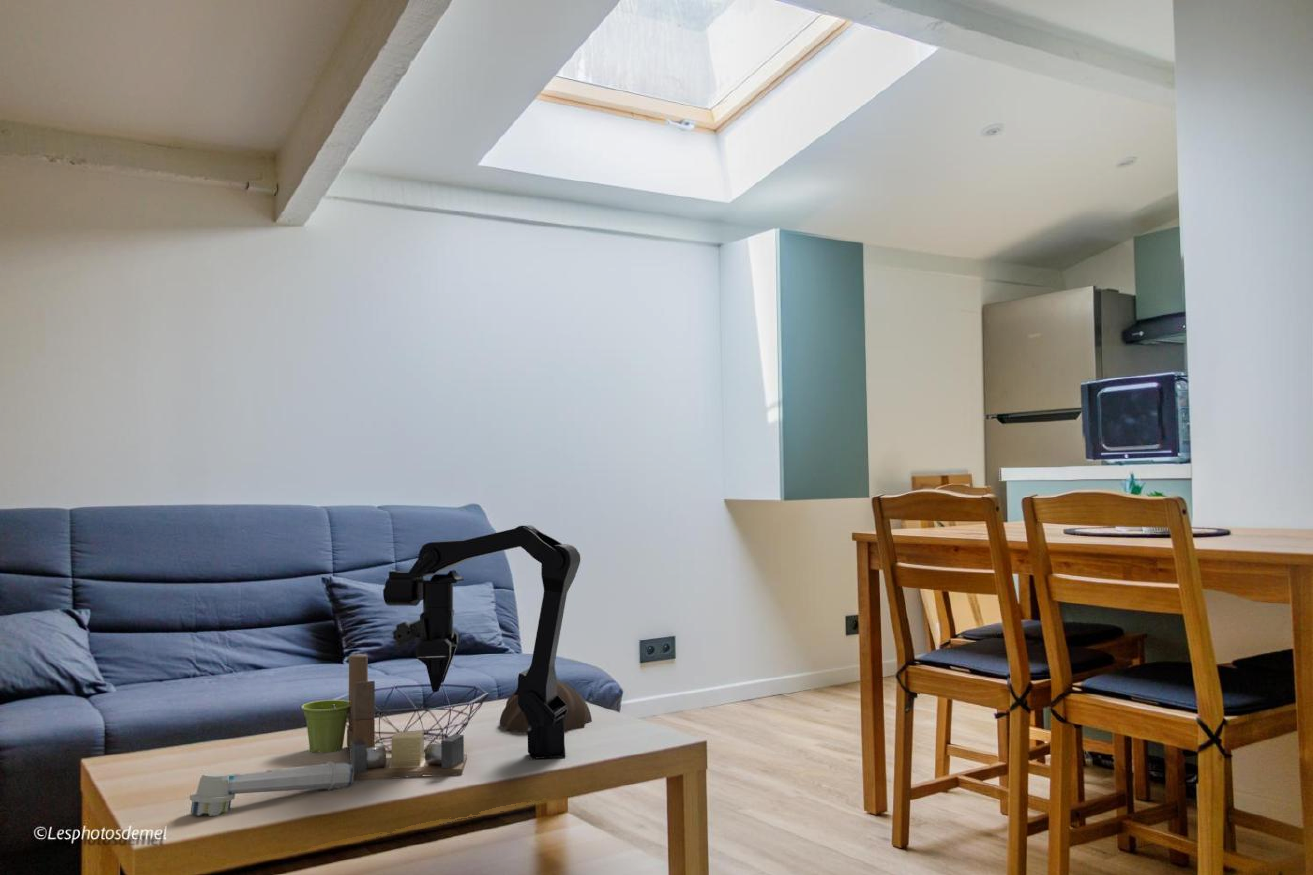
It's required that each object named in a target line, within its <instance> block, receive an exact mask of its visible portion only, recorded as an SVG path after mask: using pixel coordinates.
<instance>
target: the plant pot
mask: <svg viewBox="0 0 1313 875" xmlns="http://www.w3.org/2000/svg"><path fill="white" fill-rule="evenodd" d="M333 704H335V707H336V709H337V710H336V709H335V708H334V705H333ZM349 707H350V705H349V700H343V699H327V700H324V699H323V700H317V701H312V702H307V703H304V704H303V705H302V706H301V709H302V711H303V716H304V717H305V720H306V728H307V729H306V730H307V736H308V745H309V751H310V752H312V753H316V752H319V753H322V754H323V753H324V754H325V753H326V754H327V753H334V752H336V751H338V750H339V749H343V747H344V741H345V736H346V735H345V734H346V727H347V720H348V716H349Z"/></svg>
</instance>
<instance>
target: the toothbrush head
mask: <svg viewBox="0 0 1313 875" xmlns="http://www.w3.org/2000/svg"><path fill="white" fill-rule="evenodd" d="M353 777H354V770H353V765H352V764H350V762H338V763H337V762H336V763H333V762H332V761H327V762H326V763H322V764H314V765H313V764H311V765H305V766H295V767H294V766H293V767H286V768H276V769H268V770H257V771H249V772H241V773H240V772H239V773H232V774H231V773H230V774H229V773H228V772H221V771H218V772H217V771H215V772H207V773H204V774H202V775H201V777H200V778H199V782H198V786H197V790H196V791H194V792H192V793H190V794H189V800H190V801H191V807H190V814H192V815H193V816H200V817H201V816H202V814H208V816H210V817H211V816H219V815H220V813H228V812H229V811H230V810H231V804H232V801H233V800H235V798H236V797H235V796H236V795H238V794H254V793H269V792H270V793H271V792H287V791H288V792H290V791H291V792H292V791H304V790H322V789H324V790H325V789H326V790H328V791H331V790H332V789H339V788H344V787H345V788H346V787H350V786H351V785H352V784H353V782H354V780H353Z"/></svg>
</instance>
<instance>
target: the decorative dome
mask: <svg viewBox="0 0 1313 875" xmlns="http://www.w3.org/2000/svg"><path fill="white" fill-rule="evenodd" d="M516 691H517V689H516V690H514V691H513V692H512V693H511V694H510V696H509V697H508V698H507V701H506V702H505V707H504V709H502V712H501V715H500V719H499V725H500V726H501V727H504V728H505V731H506V732H520V733H525V734H527V735H528V728H531V725H528V722H527V719H526V716H525V713H524V712H522V711H521V709H520V707H519V706H518V704H517V697H518V695H516V696H515V695H514V694H515V692H516ZM557 694H558V695H559V696H560V697H561V698H562V700H563V701H564V702H565V703H566V704H567V705H568V706H569V707H568V711H567V714H566V716H565V717H563V718H564V732H567V731H571V730H578V729H584V728H585V726H586V725H587V724H589V723H592V721H593V720H592V715H591V714H592V713H591V711H590V709H589V708H590V707H589V706H588V703H587V702H586V700H585V699H584V698H583V697H582V696H581V694H579V692H577V691H576V690H575V689H574V688H573V687H571V686H570V685H569V684H567V683H565V682H564V681H562V680H559V679H557Z"/></svg>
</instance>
